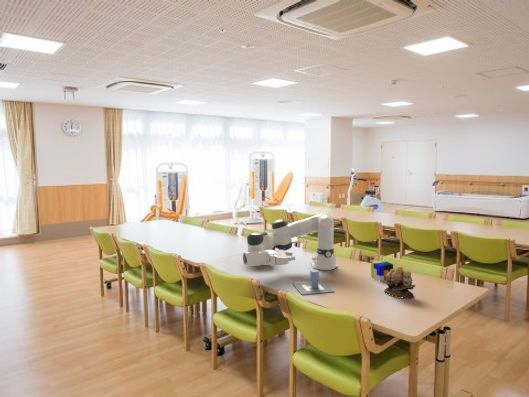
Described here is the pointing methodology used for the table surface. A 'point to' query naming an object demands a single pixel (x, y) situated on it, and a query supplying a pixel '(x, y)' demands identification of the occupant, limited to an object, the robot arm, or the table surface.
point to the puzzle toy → (380, 269)
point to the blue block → (314, 278)
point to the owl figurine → (399, 283)
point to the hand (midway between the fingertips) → (293, 256)
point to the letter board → (307, 289)
